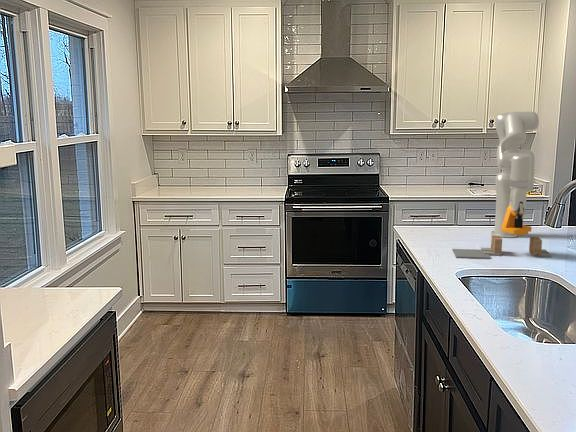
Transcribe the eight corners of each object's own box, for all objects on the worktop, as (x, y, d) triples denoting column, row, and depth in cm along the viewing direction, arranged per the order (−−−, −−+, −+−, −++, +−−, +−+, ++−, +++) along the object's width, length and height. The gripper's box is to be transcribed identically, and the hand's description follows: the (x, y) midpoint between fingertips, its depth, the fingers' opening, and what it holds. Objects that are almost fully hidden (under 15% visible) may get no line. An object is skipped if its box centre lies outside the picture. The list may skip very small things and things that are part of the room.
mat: (452, 250, 250) (452, 248, 250) (485, 251, 248) (485, 249, 248) (456, 257, 237) (456, 256, 237) (490, 258, 234) (491, 257, 234)
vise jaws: (480, 249, 250) (481, 234, 249) (545, 251, 246) (546, 236, 244) (484, 255, 240) (485, 239, 239) (551, 257, 236) (552, 241, 235)
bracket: (514, 236, 236) (516, 208, 234) (501, 232, 242) (502, 205, 240) (532, 233, 241) (534, 205, 238) (518, 229, 247) (520, 203, 245)
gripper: (506, 181, 247) (503, 221, 250) (514, 187, 230) (511, 230, 234) (524, 181, 245) (521, 222, 249) (533, 187, 229) (530, 230, 233)
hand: (516, 225), depth 241 cm, fingers closed on bracket, 4 cm apart
